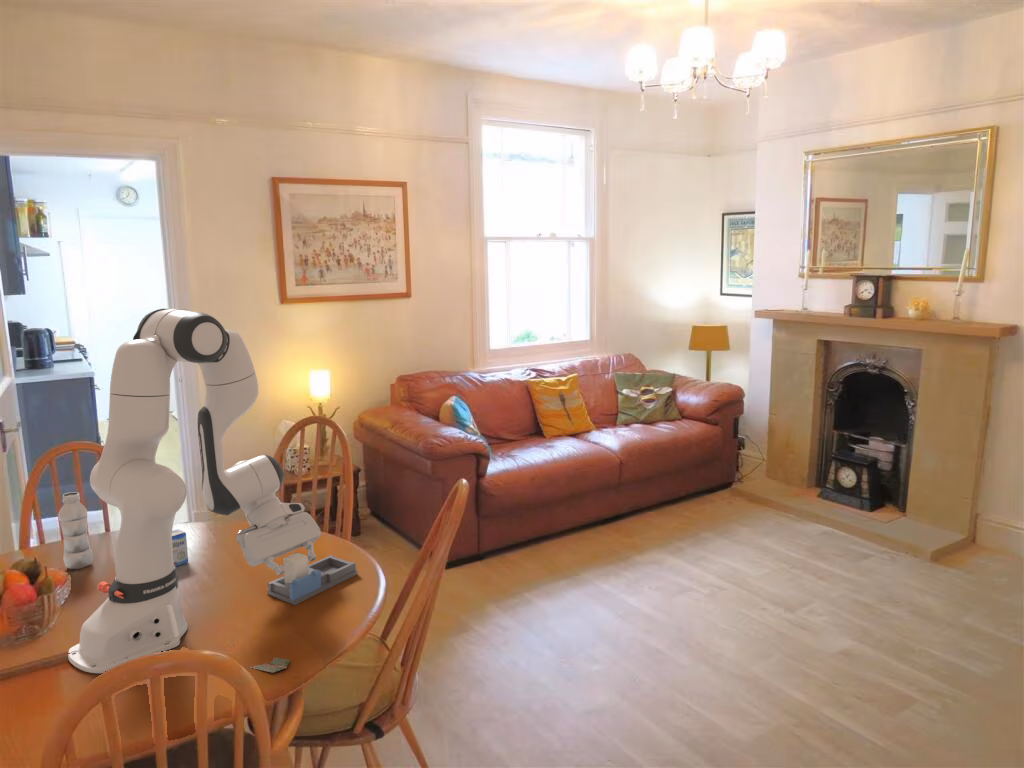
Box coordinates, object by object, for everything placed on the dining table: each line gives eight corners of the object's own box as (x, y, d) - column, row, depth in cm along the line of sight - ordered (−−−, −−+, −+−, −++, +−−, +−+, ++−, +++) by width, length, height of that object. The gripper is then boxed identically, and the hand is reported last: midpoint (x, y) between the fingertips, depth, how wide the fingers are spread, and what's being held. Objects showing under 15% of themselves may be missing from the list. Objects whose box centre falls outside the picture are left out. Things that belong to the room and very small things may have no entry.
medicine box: (159, 573, 184) (156, 541, 182) (151, 568, 186) (148, 537, 185) (189, 562, 190) (186, 532, 188) (180, 558, 192) (177, 528, 191)
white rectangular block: (295, 593, 170) (294, 561, 169) (285, 588, 173) (283, 557, 171) (309, 586, 174) (307, 556, 172) (298, 582, 176) (296, 552, 174)
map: (277, 678, 138) (277, 673, 138) (202, 653, 147) (202, 649, 147) (296, 665, 143) (295, 660, 142) (221, 642, 151) (221, 638, 151)
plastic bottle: (84, 572, 184) (76, 498, 180) (58, 572, 184) (49, 498, 180) (99, 561, 190) (91, 490, 187) (74, 561, 190) (66, 490, 187)
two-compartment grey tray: (296, 605, 166) (294, 582, 165) (267, 594, 172) (265, 571, 171) (358, 574, 182) (358, 553, 181) (330, 565, 188) (329, 544, 187)
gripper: (237, 526, 165) (266, 575, 162) (307, 501, 182) (335, 546, 178) (227, 539, 169) (255, 589, 165) (296, 514, 185) (324, 558, 182)
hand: (297, 566), depth 172 cm, fingers open, 8 cm apart
